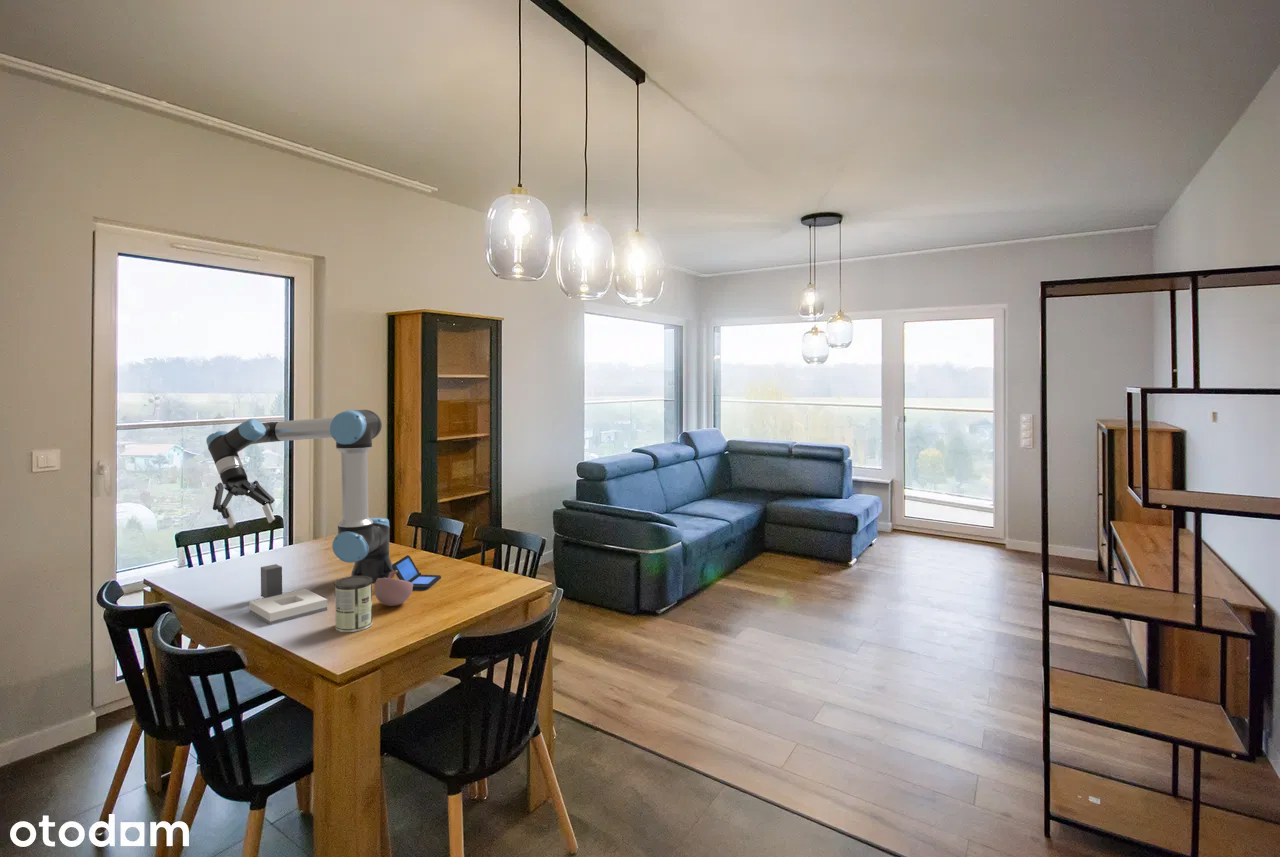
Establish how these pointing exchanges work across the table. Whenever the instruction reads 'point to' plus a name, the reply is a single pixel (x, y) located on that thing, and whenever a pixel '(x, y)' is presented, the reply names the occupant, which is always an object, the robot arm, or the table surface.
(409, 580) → the handheld game console
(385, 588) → the mortar and pestle
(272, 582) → the plug
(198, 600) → the table surface
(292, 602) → the socket
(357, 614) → the coffee can
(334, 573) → the table surface
